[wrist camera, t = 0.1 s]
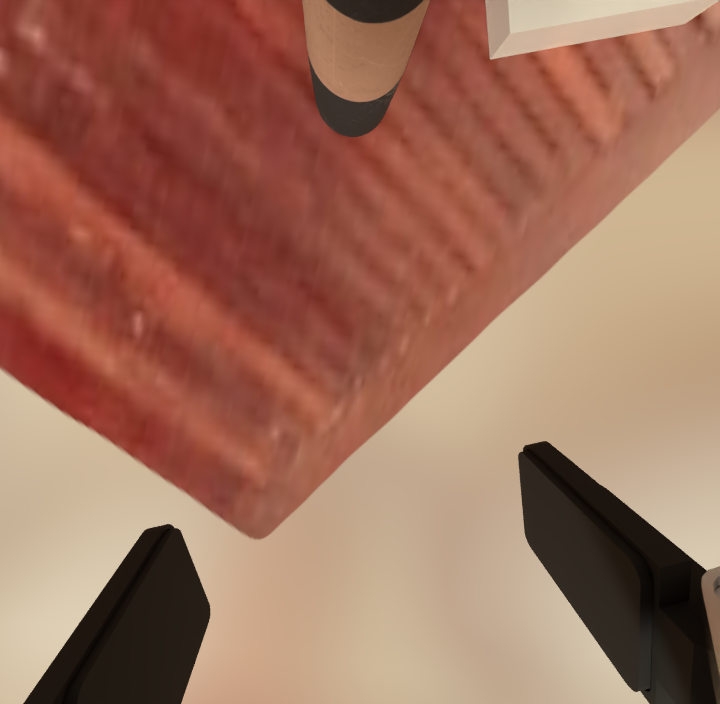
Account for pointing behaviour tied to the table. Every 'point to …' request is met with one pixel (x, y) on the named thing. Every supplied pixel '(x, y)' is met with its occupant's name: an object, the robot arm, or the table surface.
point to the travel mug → (359, 57)
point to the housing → (578, 21)
